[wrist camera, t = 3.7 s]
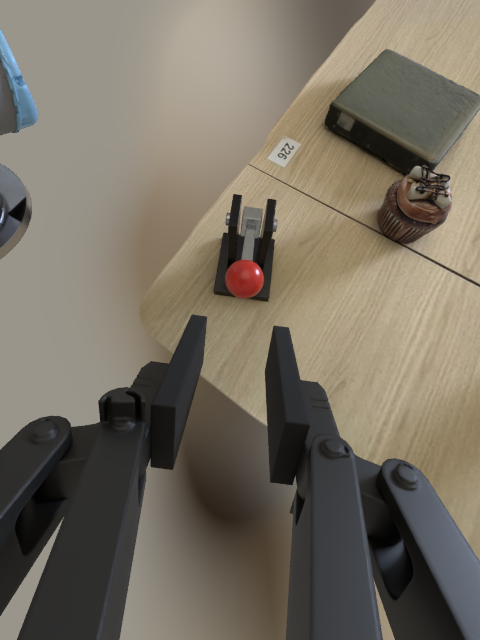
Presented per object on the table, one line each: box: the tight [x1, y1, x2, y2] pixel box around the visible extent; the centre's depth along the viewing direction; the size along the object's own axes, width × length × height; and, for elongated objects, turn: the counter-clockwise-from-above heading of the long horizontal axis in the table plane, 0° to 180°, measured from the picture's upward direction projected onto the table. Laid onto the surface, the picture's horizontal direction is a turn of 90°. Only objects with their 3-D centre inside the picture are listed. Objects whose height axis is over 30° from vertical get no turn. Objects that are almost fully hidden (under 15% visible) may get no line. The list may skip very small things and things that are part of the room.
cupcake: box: [378, 165, 452, 243], centre depth 46 cm, size 10×10×10 cm
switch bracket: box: [214, 194, 277, 301], centre depth 41 cm, size 10×8×13 cm
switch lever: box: [225, 207, 264, 298], centre depth 32 cm, size 14×4×4 cm, turn 172°
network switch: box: [325, 49, 480, 175], centre depth 56 cm, size 23×23×5 cm
